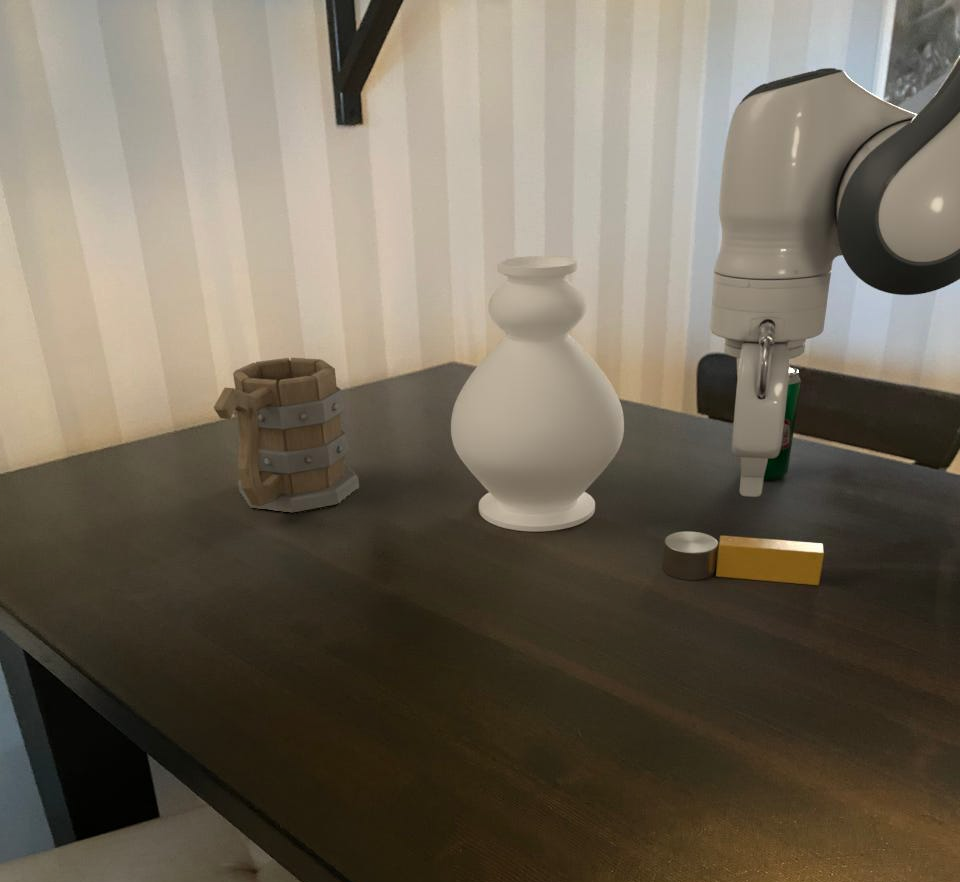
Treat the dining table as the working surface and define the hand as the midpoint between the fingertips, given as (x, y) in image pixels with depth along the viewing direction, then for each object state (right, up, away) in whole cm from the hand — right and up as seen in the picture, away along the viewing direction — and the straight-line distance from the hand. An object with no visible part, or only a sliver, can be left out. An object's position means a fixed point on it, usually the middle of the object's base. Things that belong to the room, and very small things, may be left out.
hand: (751, 473), depth 81 cm
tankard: (-46, +1, +23) cm, 51 cm away
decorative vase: (-18, -1, +19) cm, 26 cm away
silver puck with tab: (0, -8, +5) cm, 10 cm away
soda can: (+9, +4, +27) cm, 28 cm away
